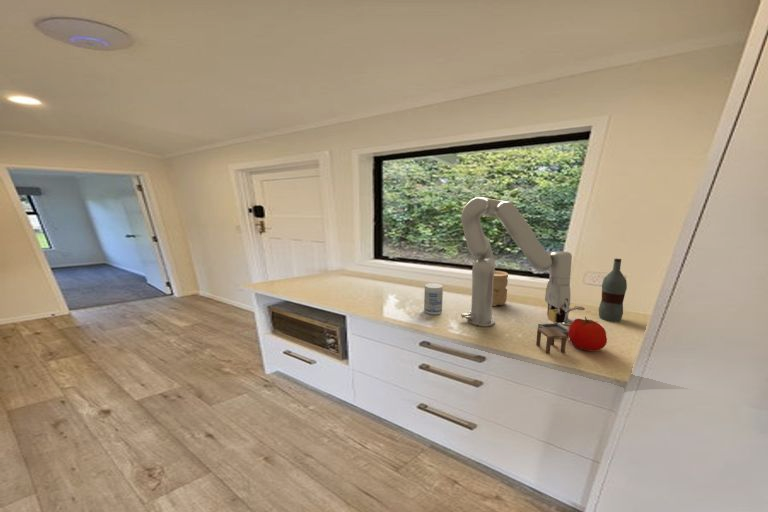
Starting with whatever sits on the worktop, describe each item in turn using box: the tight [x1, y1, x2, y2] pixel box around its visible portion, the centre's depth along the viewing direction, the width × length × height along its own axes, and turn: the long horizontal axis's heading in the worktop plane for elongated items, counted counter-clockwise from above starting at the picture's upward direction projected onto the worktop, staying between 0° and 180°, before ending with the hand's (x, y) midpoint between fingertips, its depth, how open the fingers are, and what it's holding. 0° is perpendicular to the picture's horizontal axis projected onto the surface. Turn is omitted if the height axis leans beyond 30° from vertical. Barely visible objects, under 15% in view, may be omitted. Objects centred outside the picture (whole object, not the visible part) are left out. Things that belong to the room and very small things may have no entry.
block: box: [547, 309, 558, 324], centre depth 122 cm, size 4×4×4 cm
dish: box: [537, 322, 569, 338], centre depth 124 cm, size 9×9×2 cm
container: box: [492, 270, 509, 307], centre depth 159 cm, size 13×13×18 cm
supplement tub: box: [423, 282, 444, 316], centre depth 148 cm, size 10×10×15 cm
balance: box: [560, 305, 585, 327], centre depth 131 cm, size 16×4×8 cm, turn 95°
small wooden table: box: [535, 327, 568, 355], centre depth 110 cm, size 7×7×7 cm
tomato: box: [568, 316, 608, 352], centre depth 109 cm, size 12×13×12 cm
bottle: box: [598, 258, 628, 323], centre depth 134 cm, size 9×9×30 cm
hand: (556, 319), depth 123 cm, fingers closed on block, 4 cm apart
